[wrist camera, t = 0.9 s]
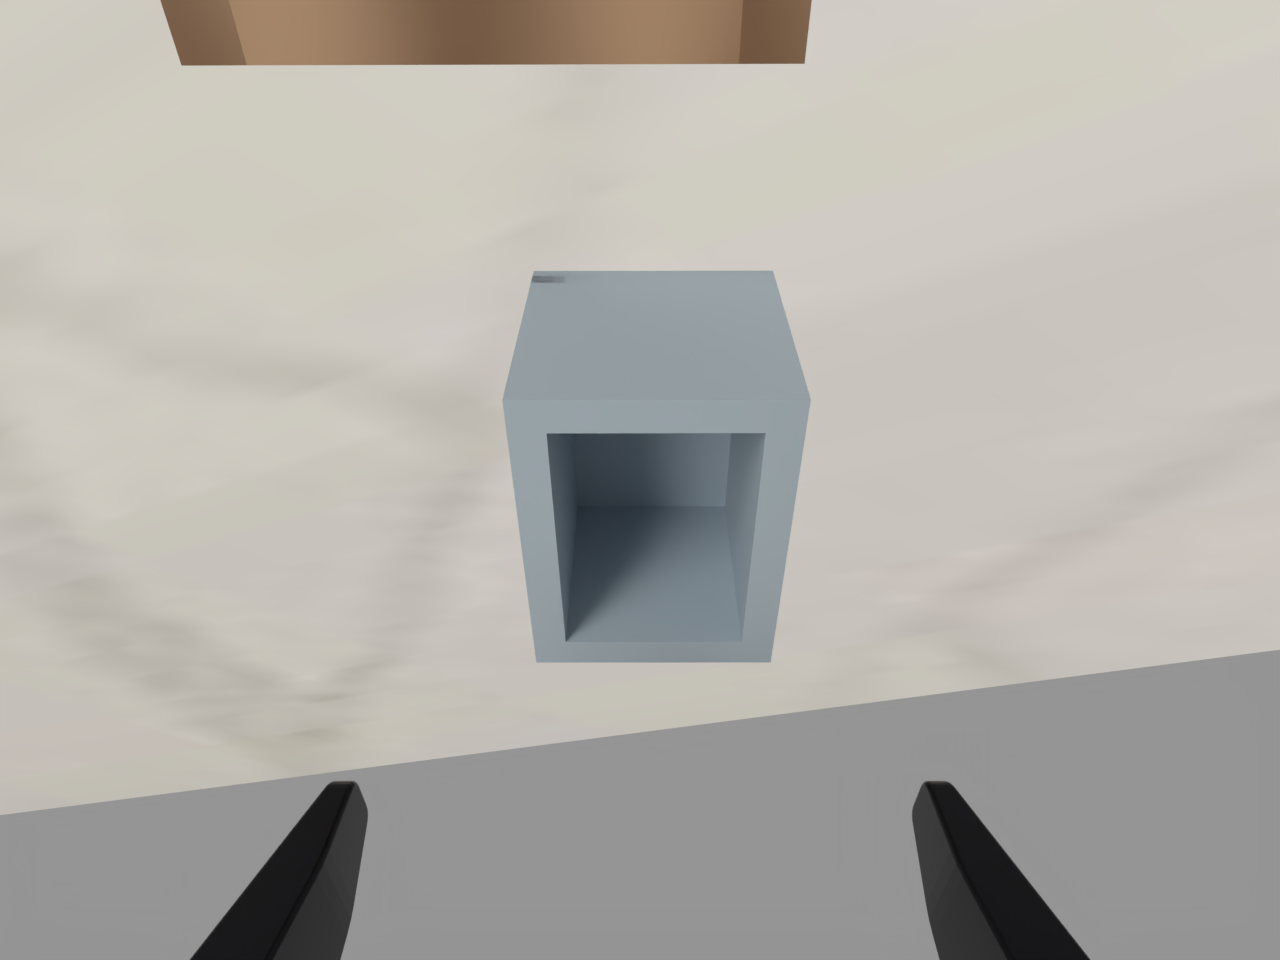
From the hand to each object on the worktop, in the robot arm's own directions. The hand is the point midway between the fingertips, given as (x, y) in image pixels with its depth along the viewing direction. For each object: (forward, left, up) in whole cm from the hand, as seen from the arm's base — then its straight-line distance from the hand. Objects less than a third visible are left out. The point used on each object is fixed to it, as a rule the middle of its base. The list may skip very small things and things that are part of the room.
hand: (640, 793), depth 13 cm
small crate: (0, +1, -12) cm, 12 cm away
